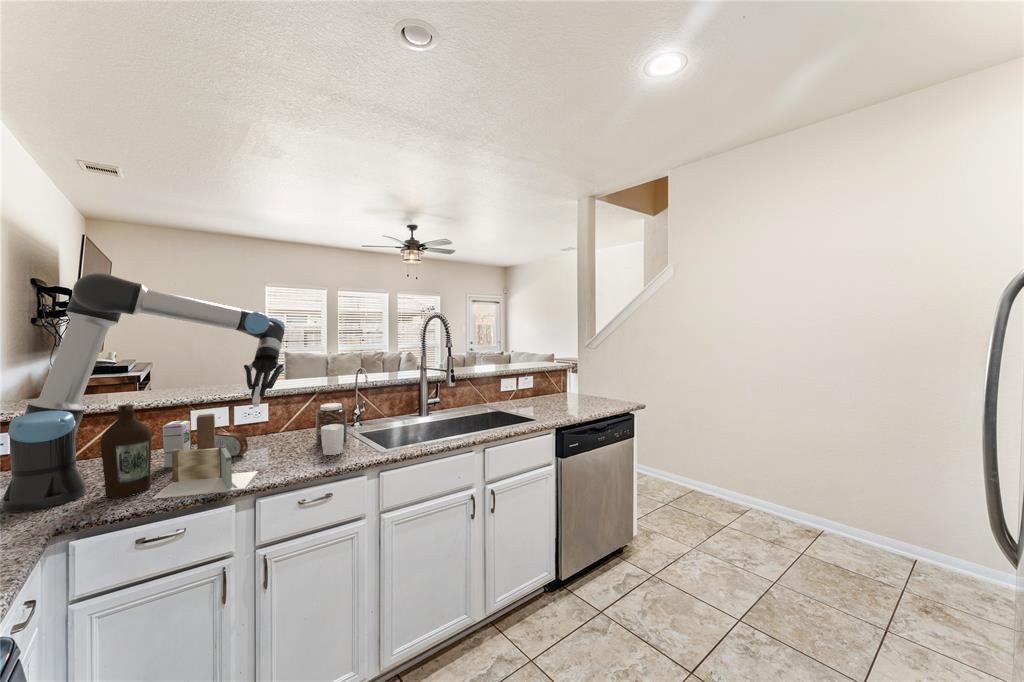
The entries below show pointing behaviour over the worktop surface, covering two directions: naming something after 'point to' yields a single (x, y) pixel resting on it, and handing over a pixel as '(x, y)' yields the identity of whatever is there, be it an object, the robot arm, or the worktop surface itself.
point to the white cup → (332, 439)
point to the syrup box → (175, 439)
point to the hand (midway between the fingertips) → (255, 404)
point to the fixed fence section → (196, 464)
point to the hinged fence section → (226, 467)
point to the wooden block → (206, 431)
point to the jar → (330, 418)
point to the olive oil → (126, 455)
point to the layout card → (206, 486)
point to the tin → (232, 442)
